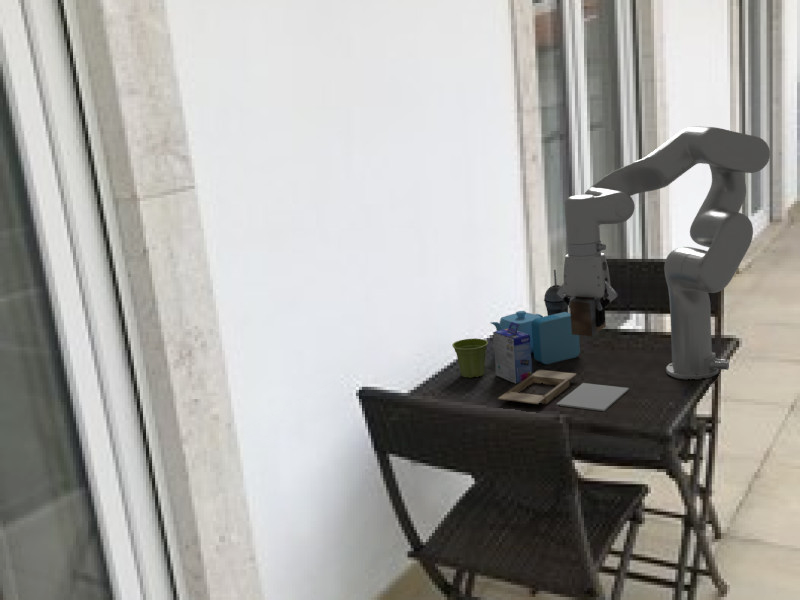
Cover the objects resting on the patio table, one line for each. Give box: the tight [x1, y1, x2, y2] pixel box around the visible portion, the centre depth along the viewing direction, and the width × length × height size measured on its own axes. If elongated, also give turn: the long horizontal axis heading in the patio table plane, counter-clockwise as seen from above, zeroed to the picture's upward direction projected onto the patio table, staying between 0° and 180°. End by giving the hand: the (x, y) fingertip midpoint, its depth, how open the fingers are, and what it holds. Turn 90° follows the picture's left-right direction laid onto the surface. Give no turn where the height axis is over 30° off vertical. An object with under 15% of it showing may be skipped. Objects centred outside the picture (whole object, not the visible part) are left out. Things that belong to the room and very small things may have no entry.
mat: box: [556, 382, 630, 412], centre depth 232 cm, size 12×15×1 cm
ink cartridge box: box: [492, 322, 533, 385], centre depth 250 cm, size 10×6×14 cm, turn 28°
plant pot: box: [452, 337, 489, 379], centre depth 256 cm, size 9×9×9 cm
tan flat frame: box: [497, 369, 577, 405], centre depth 239 cm, size 11×22×2 cm, turn 145°
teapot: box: [490, 310, 544, 354], centre depth 271 cm, size 12×18×12 cm
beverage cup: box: [543, 269, 569, 316], centre depth 279 cm, size 7×7×20 cm
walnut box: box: [569, 297, 607, 337], centre depth 227 cm, size 5×8×8 cm, turn 145°
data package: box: [531, 312, 581, 365], centre depth 261 cm, size 12×4×12 cm, turn 112°
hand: (588, 323), depth 227 cm, fingers closed on walnut box, 5 cm apart
